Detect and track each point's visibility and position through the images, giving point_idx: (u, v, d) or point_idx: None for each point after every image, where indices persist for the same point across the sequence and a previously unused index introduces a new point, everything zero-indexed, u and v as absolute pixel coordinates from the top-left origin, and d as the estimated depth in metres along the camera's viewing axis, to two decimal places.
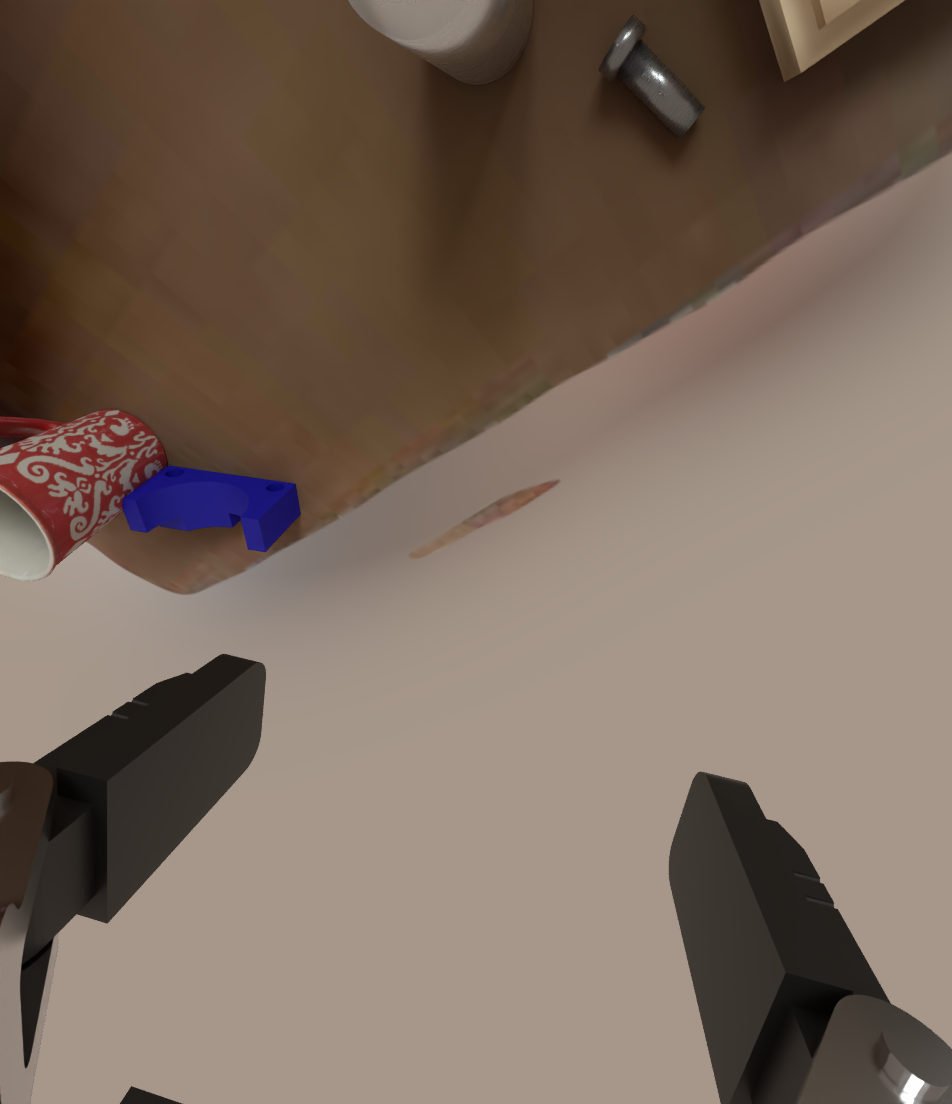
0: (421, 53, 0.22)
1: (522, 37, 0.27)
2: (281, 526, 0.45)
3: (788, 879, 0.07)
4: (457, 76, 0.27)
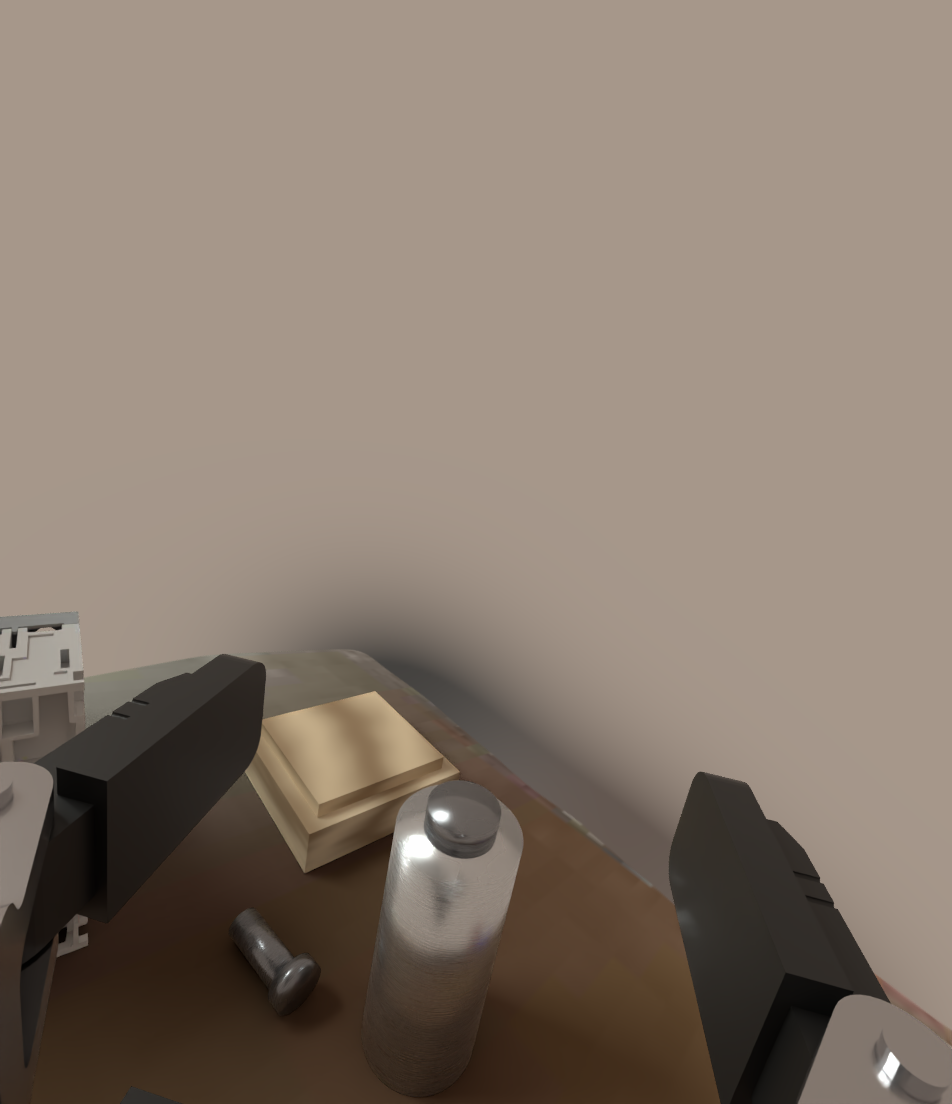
0: None
1: None
2: None
3: (789, 879, 0.07)
4: None
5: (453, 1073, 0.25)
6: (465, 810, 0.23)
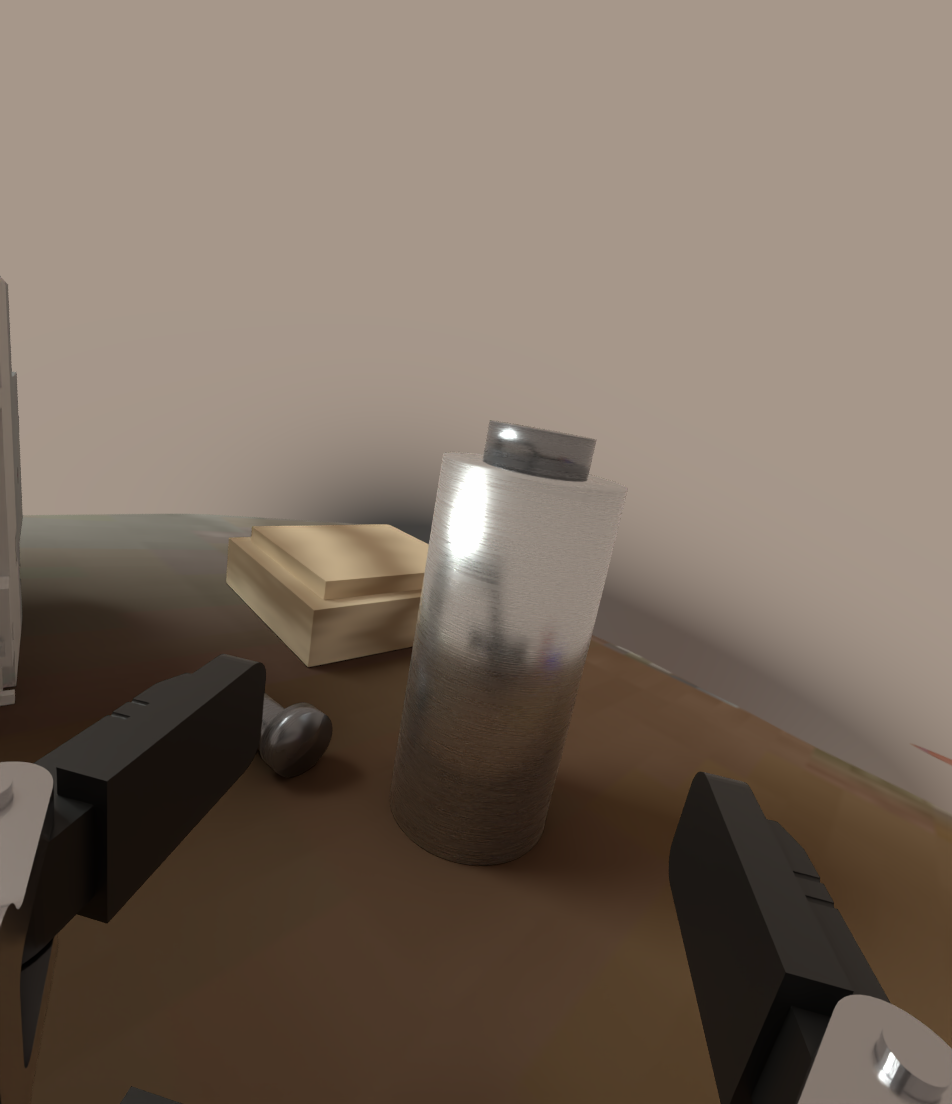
0: None
1: None
2: None
3: (788, 879, 0.07)
4: None
5: (523, 836, 0.17)
6: (545, 430, 0.16)
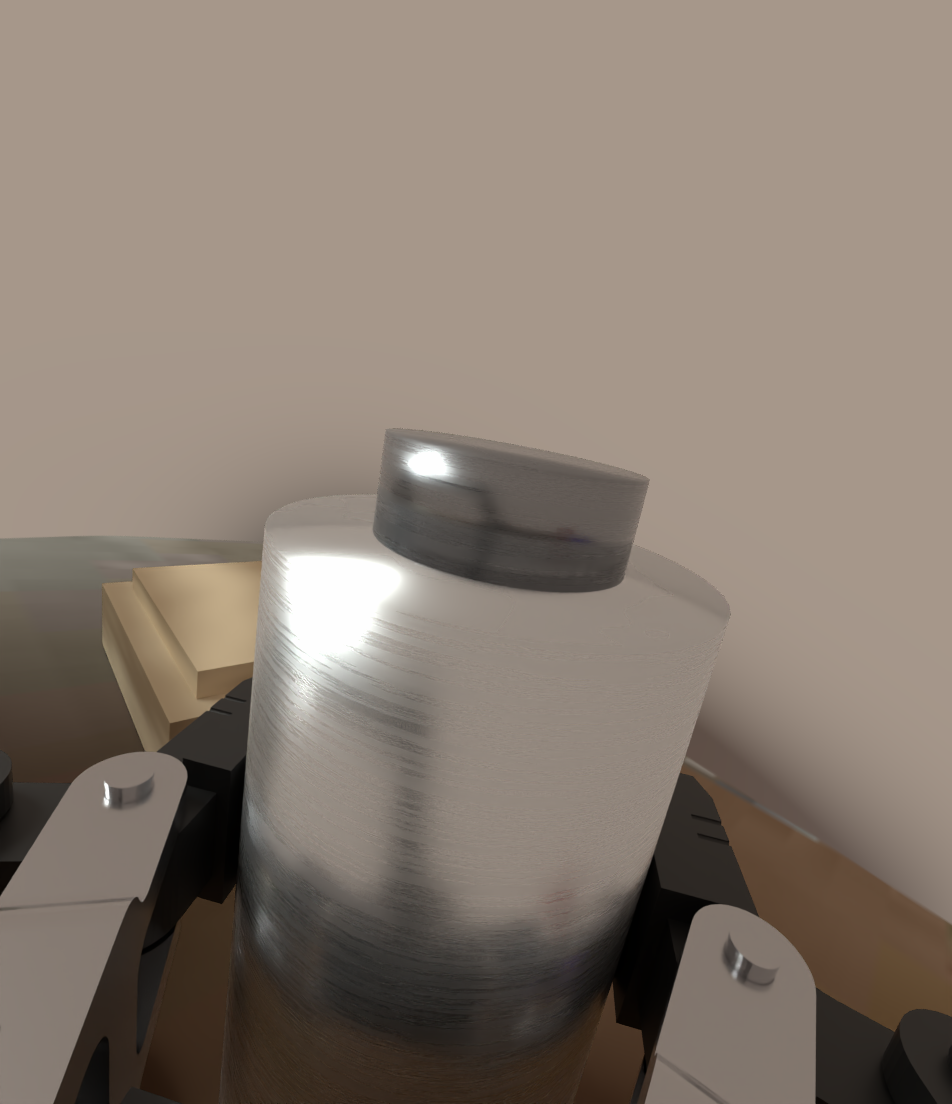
0: None
1: None
2: None
3: (684, 817, 0.08)
4: None
5: None
6: (521, 455, 0.06)
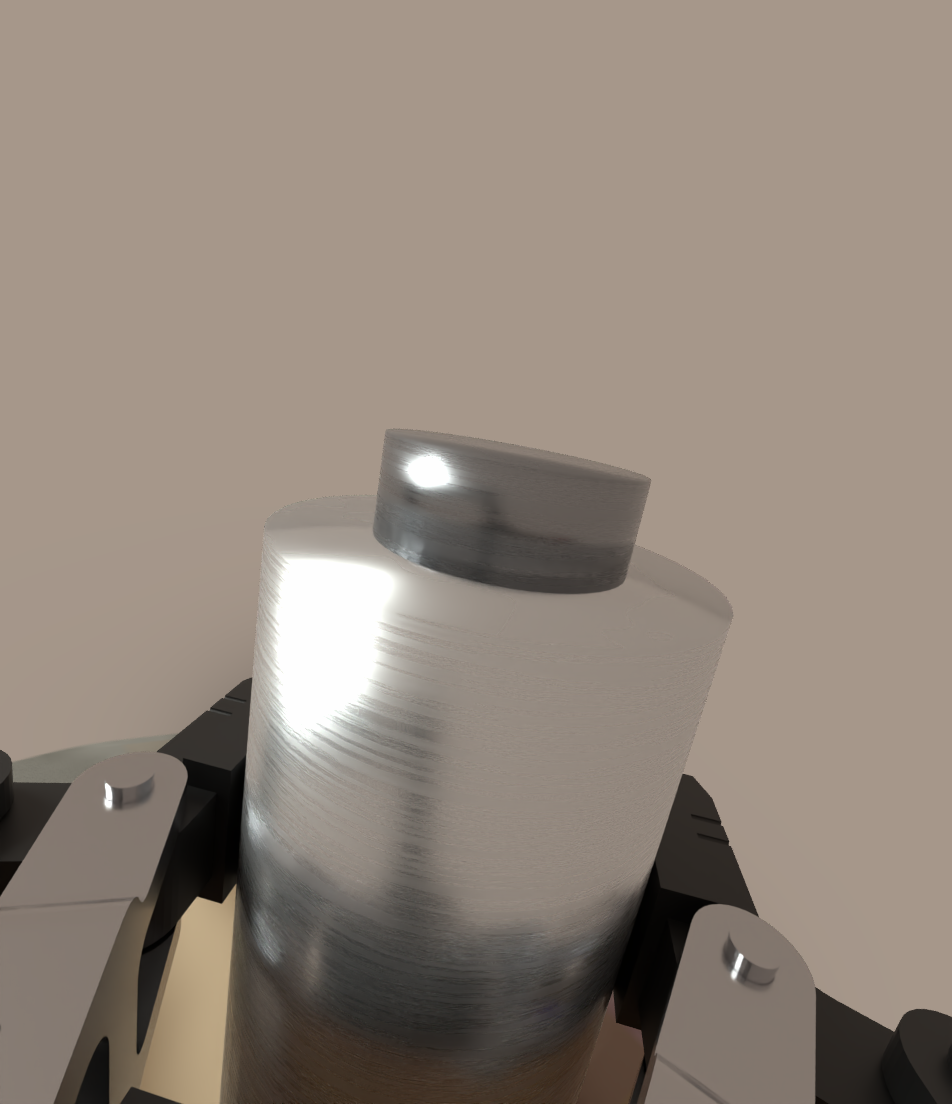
0: None
1: None
2: None
3: (684, 817, 0.08)
4: None
5: None
6: (522, 455, 0.06)
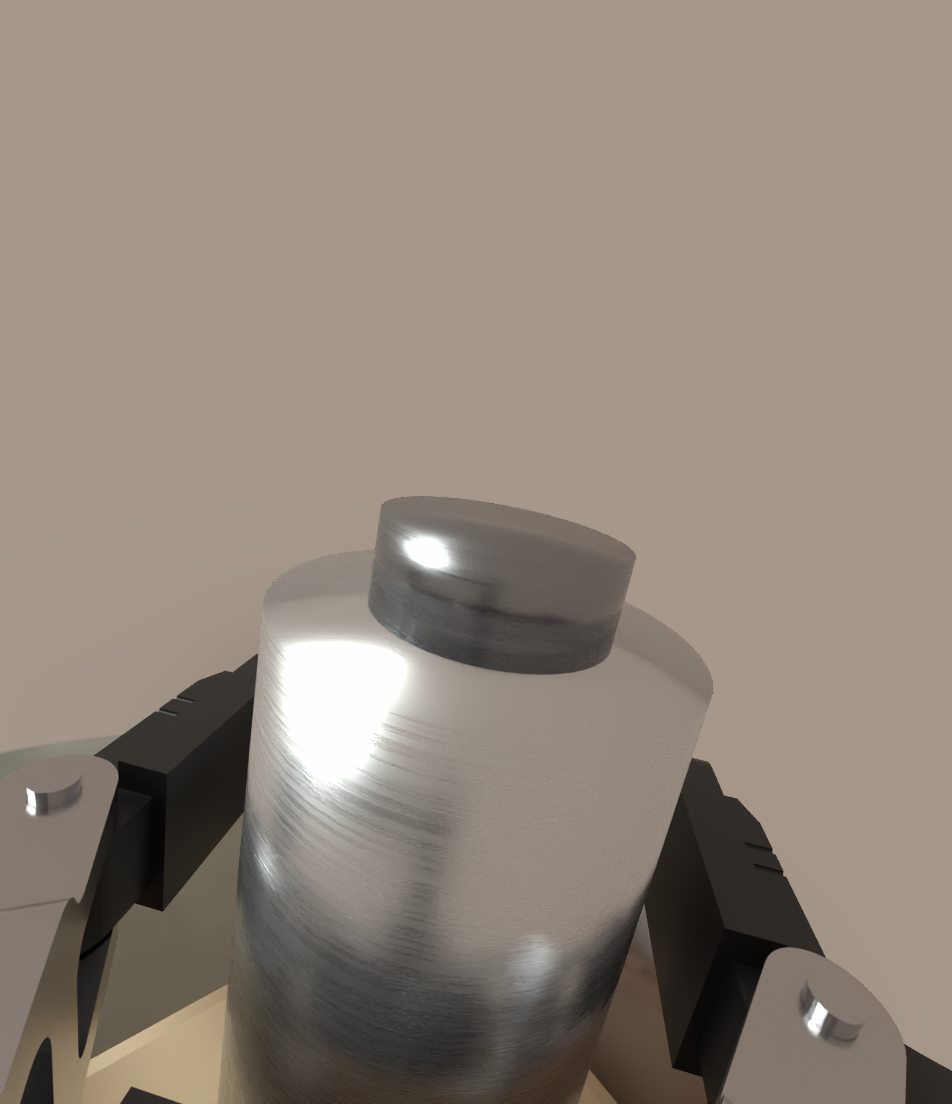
0: None
1: None
2: None
3: (738, 847, 0.07)
4: None
5: None
6: (512, 531, 0.07)
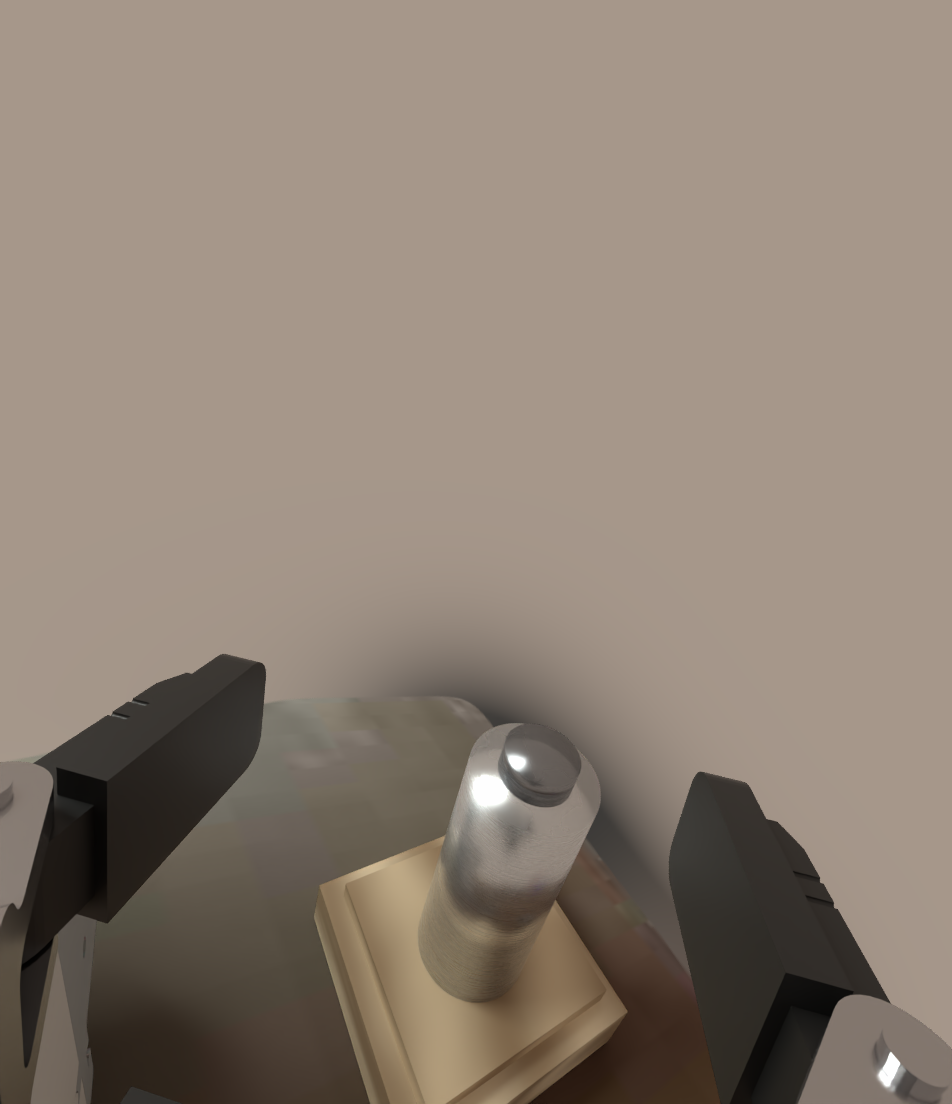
0: None
1: None
2: None
3: (788, 879, 0.07)
4: None
5: (502, 988, 0.25)
6: (543, 758, 0.22)
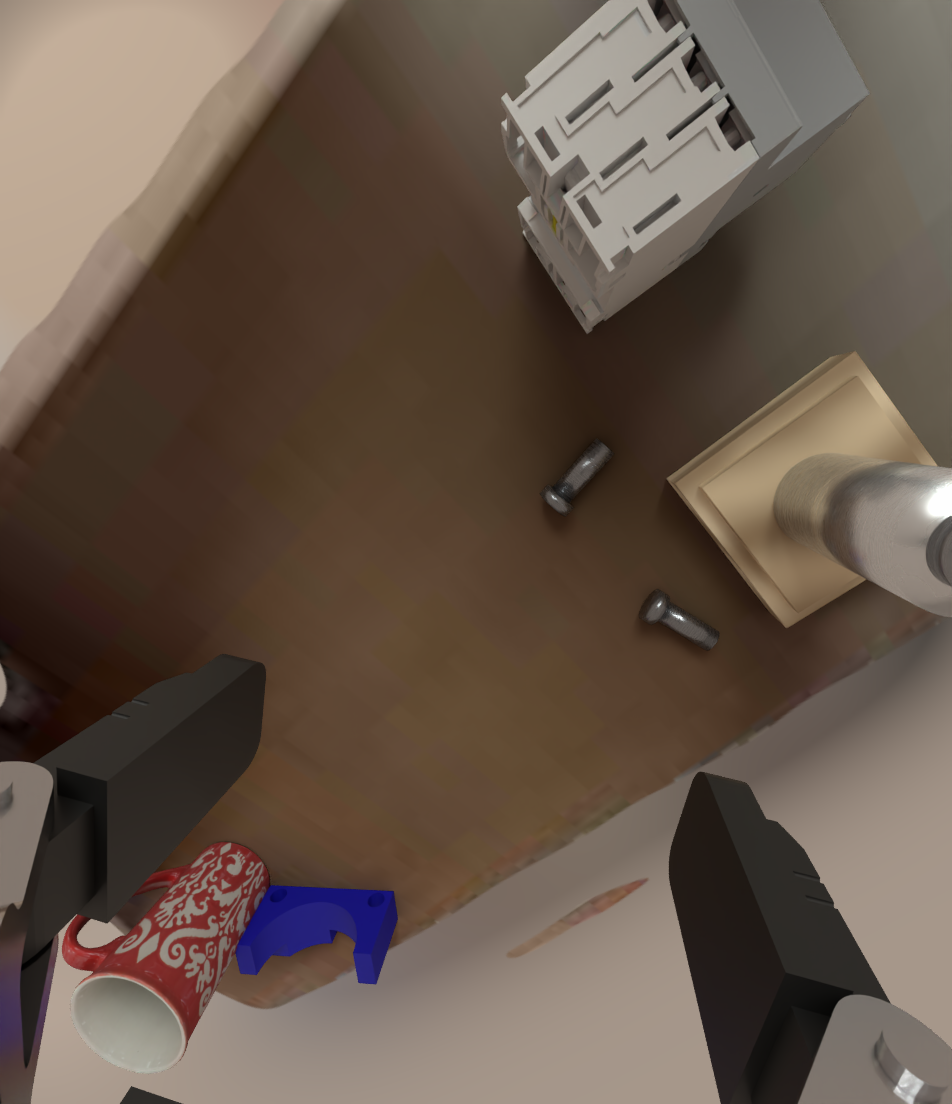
0: None
1: None
2: (385, 945, 0.46)
3: (788, 879, 0.07)
4: None
5: (785, 530, 0.32)
6: None
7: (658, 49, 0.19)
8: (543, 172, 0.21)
